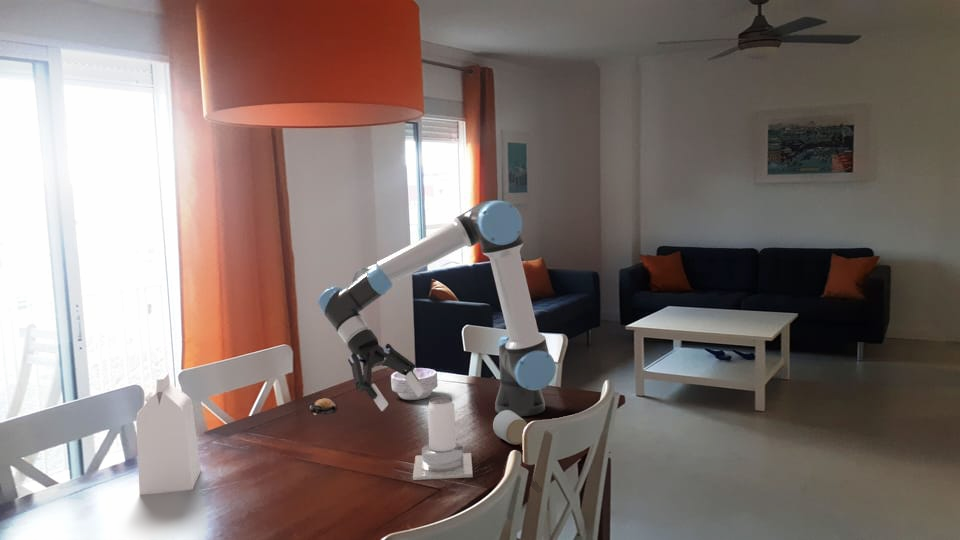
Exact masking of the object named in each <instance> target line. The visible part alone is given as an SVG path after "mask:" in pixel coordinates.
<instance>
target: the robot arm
mask: <svg viewBox="0 0 960 540" xmlns="http://www.w3.org/2000/svg"><path fill="white" fill-rule="evenodd" d="M522 228H523V219H522V216H521V213H520V211H519V209H517V207H516V206H514V205H513V204H511V203H510V202H507V201H505V200H501V199H496V200H491V199H490V200H485V201H481V202H479V203H477V204H476V205H474V206H473V207H471V208H470V209H469V210H467V211H465V212H463V213H462V214H460V215H458V216H456V217H455V218H454V220H453V222H452V223H450V224H448V225H447V226H444V227H442V228H440V229H438V230H437V231H434V232H433V233H430V234H428V235H427V236H425V237H423V238H421V239H419V240H418V241H415V242H413V243H411V244H409V245H407V246H405V247H404V248H402V249H399V250H397V251H395V252H394V253H392V254H390V255H388V256H386V257H384V258H382V259H380V260H378V261H376V262H375V263H373V264H371V265H369V266H366V267H361V268H360V269H358V270H357V271H356V272H355V273H354V275H353V277H352V282H351V283H350V284H349V285H347V286H346V287H345V288H342V287H340V286H338V285H336V286H335V285H334V286H331V287H330V288H327V289H325V290H324V291H323V292H322V293H321V294H320V296H319V297H318V303H317V304H318V305H319V307H320V309H321V310H322V312H323V315H324V316H325V317H326V319H327V320H328V321H329V323H330V324H331V325H332V327H333V328H334V329H335V331H336V332H337V333H338V335H339V336H340V338H341V340H342V342H344V344H346V345H347V348H348V349H349V351H350V352H351V355H350V356H349V358H348V359H347V360H348V363H349V365H350V367H351V372H352V377H353V381H354V387H355V389H356V391H360V392H361V393H366V394H367V395H368V397H369V398H370V399H371V400H372V401H374V403H375V405H377V408H379V410H380V412H383V411H385V410H386V408H387V407H388V406H389V403H388V401H387V399H386V398H385V397H384V395H383V394H382V392H381V391H380V390H379V388H378V387H377V385H376V384H375V383H372V371H373V368H375V367H380V366H382V367H387V368H389V369H391V370H394V371H395V372H399V373H401V374H403V375H405V380H406V381H407V383H408V384H409V385H410V387H411V388H412V390H413V391H414V392H415V394H416V395H417V396H418V397H420V396H421V395H422V394H423V392H424V391H425V390H424V388H423V387H422V385H421V384H420V383H419V380H418V378H417V377H416V375H415V374H414V373H413V370H414V368H417V365H416V364H415V363H413V362H412V361H411V360H410V359H408V358H407V357H405V356H404V355H403V354H401V352H398V351H397V350H396V349H394V347H393V346H392V345H391V344H390V343H386V345H384V346H383V347H382V346H381V345H379V339H378V337H377V336H376V335H375V333H374V332H373V330H372V329H370V326H369V325H368V324H367V322H366V320H365V319H364V318H363V317H362V315H361V314H360V313H361V311H363V310H364V309H365V308H367V307H368V306H369V305H371V304H372V303H374V302H375V301H377V300H378V299H379V298H381V297H382V296H384V295H386V293H387V292H388V291H389V290H390V289H392V288H393V284H394V283H396V282H398V281H399V280H402V279H403V278H405V277H407V276H409V275H411V274H413V273H415V272H417V271H419V270H420V269H423V268H425V267H427V266H429V265H431V264H432V263H434V262H437V261H438V260H440V259H443V258H444V257H446V256H448V255H450V254H453V253H454V252H456V251H458V250H460V249H462V248H464V247H469V248H471V247H473V246H475V245H477V244H480V249H481V252H482V255H484V256H486V257H488V258H489V262H490V266H491V270H492V274H493V278H494V282H495V287H496V291H497V295H498V299H499V303H500V308H501V311H502V315H503V320H504V325H505V329H506V332H507V335H503V336H501V337H500V338H499V339H498V347H497V348H498V351H499V353H498V354H499V355H498V356H499V357H498V358H499V381H500V384H499V388H498V392H497V395H496V400H495V402H494V404H495V406H494V409H495V412H496V413H500V412H501V411H504V410H510V411H512V412H514V413H515V414H517V415H518V416H519V417H529V416H530V417H531V416H535V415H539V414H541V413H543V412H545V410H546V402H545V401H546V400H545V399H544V396H543V393H542V389H544V388H547V386H549V385H550V384H551V382H552V381H553V379H554V378H555V376H556V374H557V373H556V372H557V366H556V365H557V364H556V361H555V360H554V357H552V355H551V354H550V352H549V348H548V344H547V341H546V340H547V338H546V337H545V335H543V334H542V333H540V332H539V328H538V324H537V320H536V317H535V312H534V308H533V304H532V300H531V295H530V291H529V287H528V282H527V277H526V273H525V269H524V265H523V261H522V255H521V253H520V250H521V248H522V247H523V245H524V242H523V237H522V230H523V229H522ZM361 363H362V366H361ZM405 370H406V371H405Z"/></svg>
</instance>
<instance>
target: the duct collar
mask: <svg viewBox="0 0 960 540" xmlns="http://www.w3.org/2000/svg"><path fill="white" fill-rule="evenodd" d="M412 472H413V474H412V481H421V480H425V481H426V480H442V479H462V478H464V479H465V478H473V463H472V453H471V452H468V453H467V452H465V453H464V446H463V445H462V444H460V443H458V442H456V447H455V448H454V449H453V450H451V451H448V452H434V451H432V450H431V449H430V447H429V443H428V444H426V445H424V446H423V447H422V448H421V455H415V458H414V465H413V471H412Z"/></svg>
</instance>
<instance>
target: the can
mask: <svg viewBox="0 0 960 540" xmlns="http://www.w3.org/2000/svg"><path fill="white" fill-rule="evenodd" d="M428 402H429V403H428V406H427V422H428V423H427V425H428V444H429V447H430V449H431V450H432V451H434V452H448V451H451V450H453V449H454V448H455V447H456V443H457V440H456V414H455V404H454V402H453V399H452V398H451V397H448V396H436V397H432V398H430V399H429V400H428Z"/></svg>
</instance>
